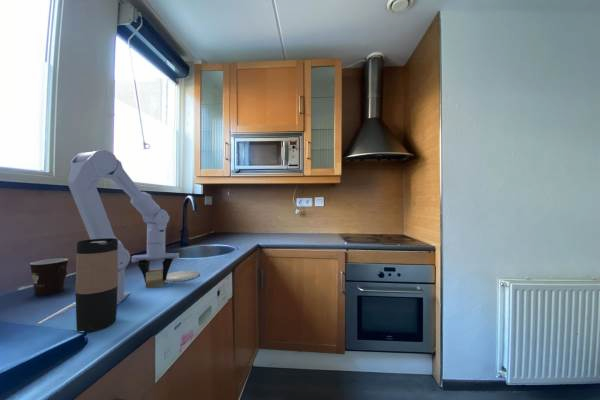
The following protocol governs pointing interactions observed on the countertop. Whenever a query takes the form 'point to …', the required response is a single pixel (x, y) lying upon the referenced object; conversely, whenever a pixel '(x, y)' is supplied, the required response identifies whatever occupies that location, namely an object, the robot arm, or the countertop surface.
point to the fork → (59, 312)
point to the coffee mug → (49, 276)
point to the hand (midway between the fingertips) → (155, 280)
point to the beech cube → (154, 278)
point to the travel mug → (96, 284)
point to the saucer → (182, 275)
